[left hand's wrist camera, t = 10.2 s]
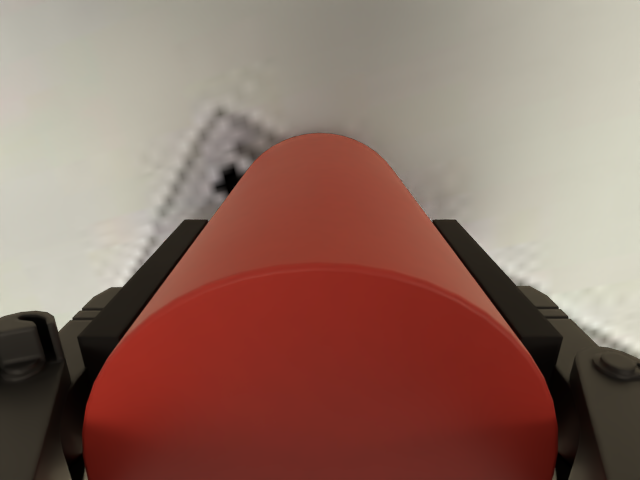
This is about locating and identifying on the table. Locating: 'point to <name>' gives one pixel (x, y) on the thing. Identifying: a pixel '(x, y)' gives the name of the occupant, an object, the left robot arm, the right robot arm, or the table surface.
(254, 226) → the canister
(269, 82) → the table surface
